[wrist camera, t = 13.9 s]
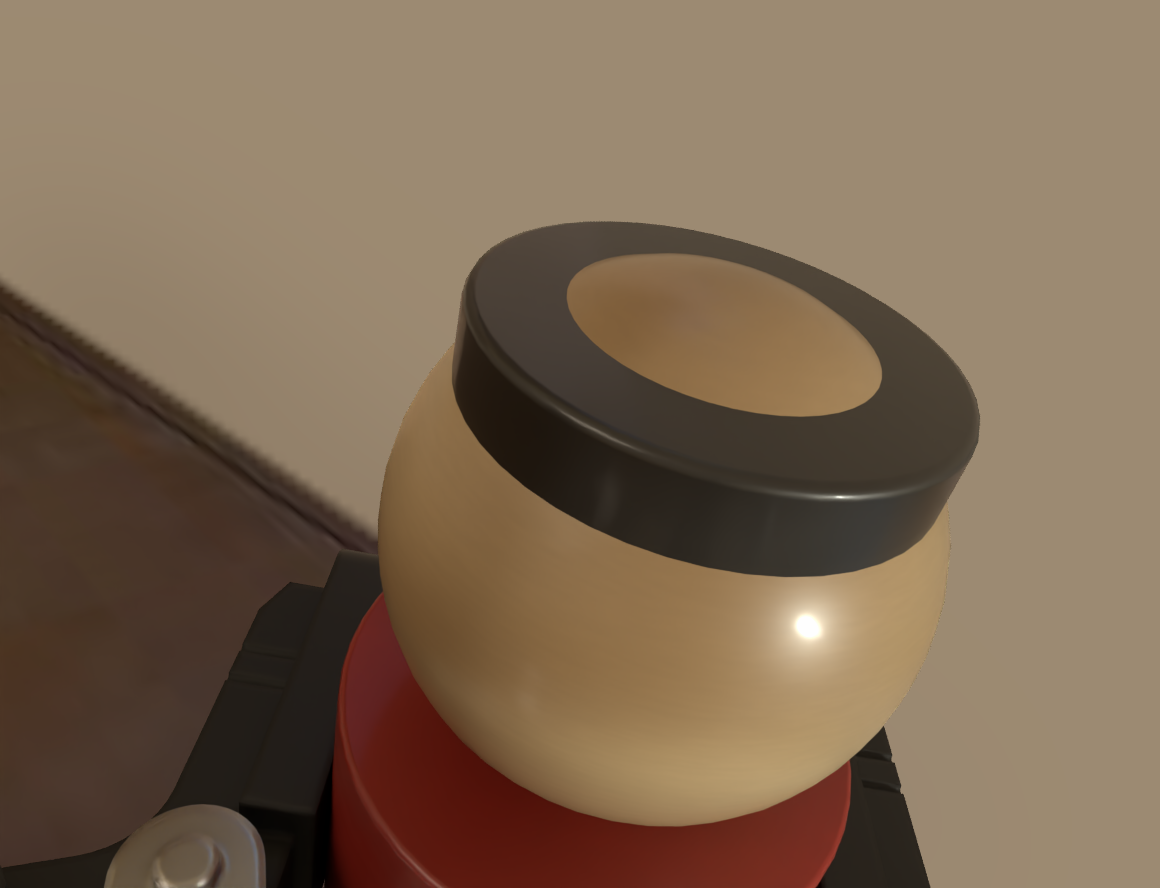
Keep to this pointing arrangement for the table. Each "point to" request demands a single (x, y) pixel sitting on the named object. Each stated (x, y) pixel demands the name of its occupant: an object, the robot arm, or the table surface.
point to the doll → (644, 571)
